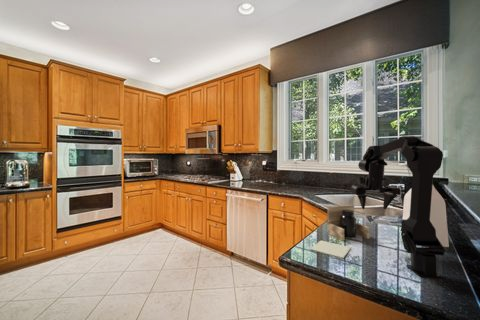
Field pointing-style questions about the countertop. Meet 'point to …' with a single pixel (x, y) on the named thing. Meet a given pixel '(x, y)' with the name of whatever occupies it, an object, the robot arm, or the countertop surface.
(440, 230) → the milk
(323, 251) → the mat
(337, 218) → the open box
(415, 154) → the robot arm
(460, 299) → the countertop surface
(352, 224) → the supplement bottle
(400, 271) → the countertop surface
